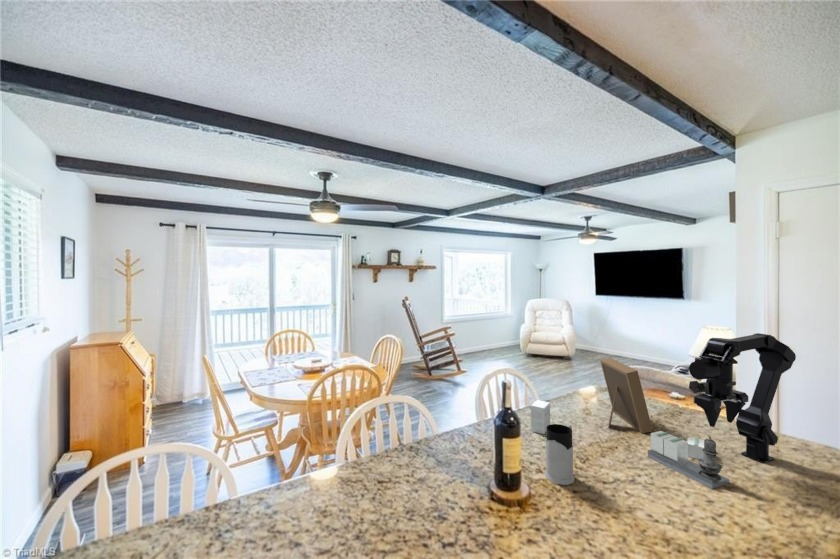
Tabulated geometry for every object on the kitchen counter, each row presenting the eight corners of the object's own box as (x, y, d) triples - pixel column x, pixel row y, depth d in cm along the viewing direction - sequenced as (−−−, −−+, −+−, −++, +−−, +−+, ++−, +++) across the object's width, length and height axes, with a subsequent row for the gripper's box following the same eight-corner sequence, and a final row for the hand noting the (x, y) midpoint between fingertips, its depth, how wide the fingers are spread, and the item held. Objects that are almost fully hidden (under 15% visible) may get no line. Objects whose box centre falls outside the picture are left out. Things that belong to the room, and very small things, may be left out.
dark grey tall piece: (724, 482, 108) (724, 442, 107) (699, 477, 110) (699, 438, 110) (719, 473, 113) (720, 434, 112) (696, 468, 116) (696, 430, 115)
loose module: (688, 449, 131) (688, 435, 131) (705, 453, 128) (705, 439, 128) (686, 456, 126) (686, 442, 126) (704, 461, 123) (704, 447, 122)
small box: (537, 424, 153) (536, 399, 153) (550, 427, 150) (550, 402, 150) (530, 431, 147) (530, 405, 147) (544, 434, 144) (544, 408, 143)
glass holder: (539, 477, 114) (539, 429, 114) (558, 459, 124) (558, 416, 124) (568, 488, 108) (567, 437, 108) (585, 469, 118) (584, 423, 118)
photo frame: (622, 412, 165) (621, 357, 165) (652, 433, 144) (651, 370, 143) (589, 412, 165) (588, 358, 165) (614, 434, 144) (613, 371, 143)
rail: (664, 452, 128) (664, 428, 128) (729, 482, 110) (729, 454, 109) (647, 457, 125) (647, 432, 125) (712, 488, 107) (712, 460, 107)
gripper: (712, 368, 131) (711, 411, 131) (677, 373, 124) (676, 419, 124) (749, 376, 121) (749, 423, 121) (713, 382, 114) (713, 432, 114)
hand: (720, 424), depth 120 cm, fingers open, 9 cm apart
